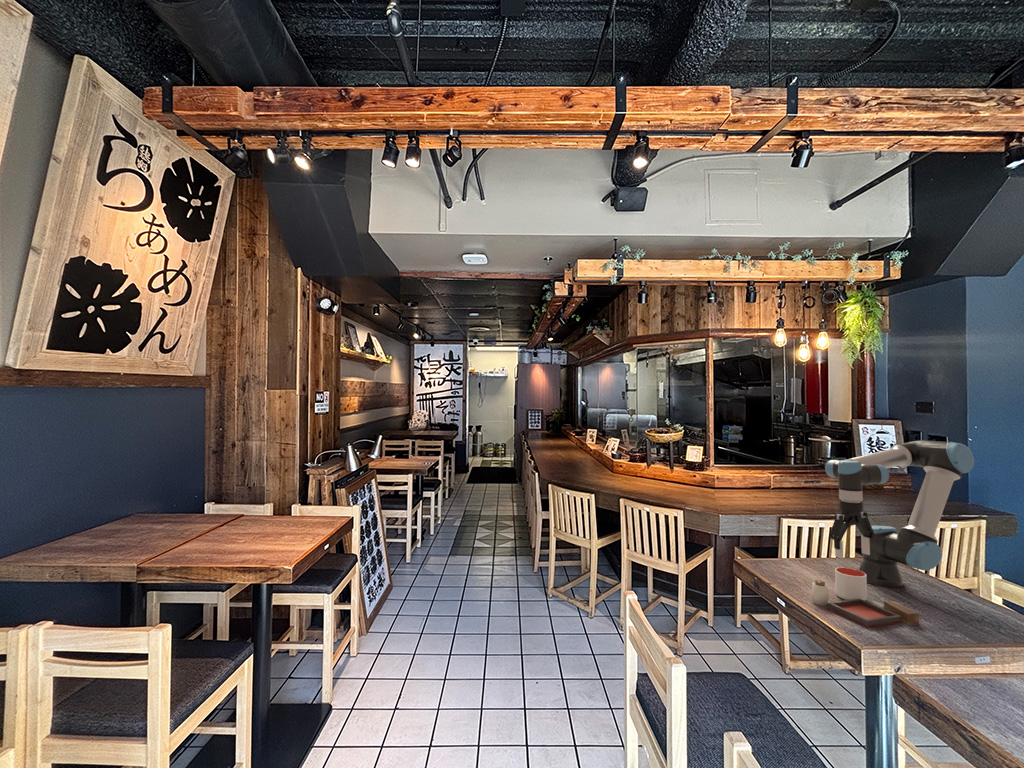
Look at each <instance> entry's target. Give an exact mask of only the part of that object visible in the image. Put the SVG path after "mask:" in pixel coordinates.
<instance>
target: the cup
mask: <svg viewBox="0 0 1024 768" xmlns="http://www.w3.org/2000/svg"><path fill="white" fill-rule="evenodd" d="M834 579H835V580H834V582H835V587H834V589H835V590H834V591H835V594H836V595H837V597H839V598H840V599H842V600H852V599H862V600H864V601H867V598H868V588H867V587H868V585H867V583H868V582H867V575H866V574H865V573H864V572H862V571H859V569H855V568H849V567H836V568H835V569H834Z"/></svg>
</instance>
